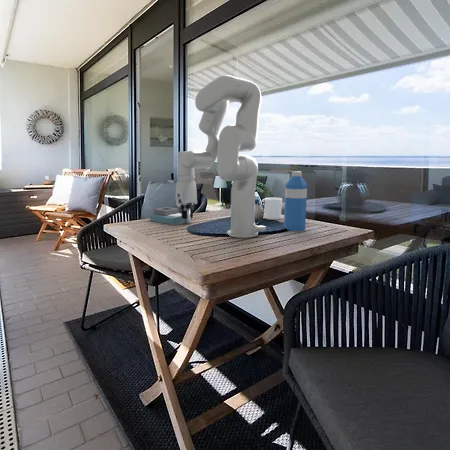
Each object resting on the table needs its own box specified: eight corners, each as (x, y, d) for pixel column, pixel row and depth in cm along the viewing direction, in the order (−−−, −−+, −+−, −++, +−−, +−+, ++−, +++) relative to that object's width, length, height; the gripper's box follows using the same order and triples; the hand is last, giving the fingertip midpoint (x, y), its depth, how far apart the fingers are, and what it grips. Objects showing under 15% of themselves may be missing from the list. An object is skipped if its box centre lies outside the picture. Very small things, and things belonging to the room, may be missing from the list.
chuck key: (195, 223, 159) (194, 204, 158) (190, 224, 157) (190, 205, 155) (184, 221, 164) (184, 203, 162) (180, 222, 162) (179, 204, 160)
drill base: (192, 220, 168) (192, 209, 166) (172, 224, 158) (172, 213, 157) (168, 216, 179) (167, 206, 177) (148, 220, 169) (147, 209, 168)
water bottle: (281, 229, 147) (283, 171, 142) (286, 225, 156) (288, 170, 151) (303, 231, 144) (306, 172, 139) (306, 227, 152) (309, 171, 147)
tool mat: (187, 215, 165) (187, 214, 165) (176, 217, 160) (176, 216, 160) (178, 214, 169) (178, 213, 169) (167, 215, 163) (167, 215, 163)
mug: (284, 218, 176) (285, 198, 174) (277, 220, 168) (277, 200, 166) (265, 216, 181) (265, 196, 179) (257, 218, 174) (257, 198, 172)
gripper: (193, 177, 165) (193, 215, 169) (167, 179, 153) (168, 219, 156) (204, 178, 160) (205, 216, 164) (178, 180, 148) (180, 221, 151)
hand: (187, 217), depth 160 cm, fingers closed on chuck key, 3 cm apart
